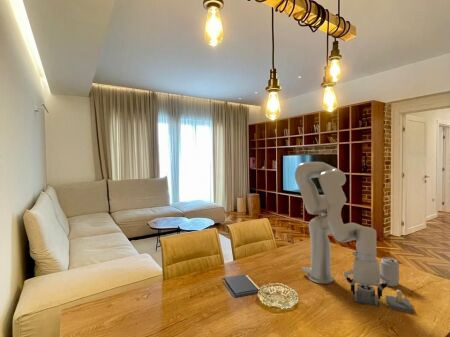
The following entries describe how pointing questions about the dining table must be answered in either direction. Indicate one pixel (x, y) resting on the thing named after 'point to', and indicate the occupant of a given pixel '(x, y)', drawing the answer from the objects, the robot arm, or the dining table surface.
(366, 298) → the collar
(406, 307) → the square base with peg
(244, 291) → the dark grey book
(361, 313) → the dining table surface
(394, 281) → the can
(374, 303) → the stand
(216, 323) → the dining table surface
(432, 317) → the dining table surface
